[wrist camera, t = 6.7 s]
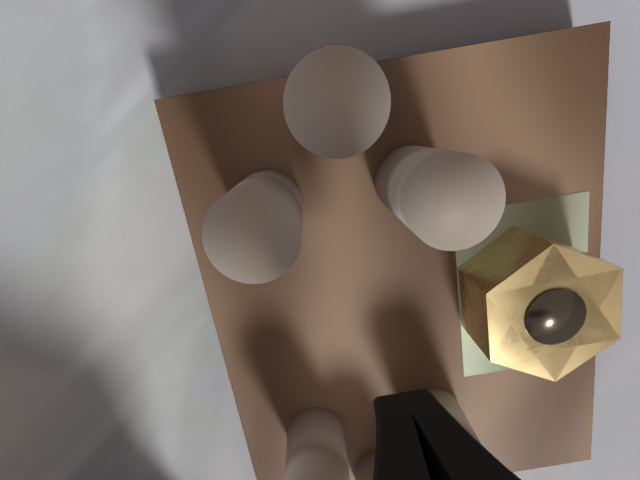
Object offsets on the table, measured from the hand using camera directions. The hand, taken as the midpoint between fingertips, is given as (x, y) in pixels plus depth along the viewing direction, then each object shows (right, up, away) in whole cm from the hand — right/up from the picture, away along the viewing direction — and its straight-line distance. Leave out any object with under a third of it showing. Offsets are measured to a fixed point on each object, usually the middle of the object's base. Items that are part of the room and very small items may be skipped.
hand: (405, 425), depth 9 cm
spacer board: (+1, +2, +7) cm, 7 cm away
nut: (+5, +3, +5) cm, 8 cm away
